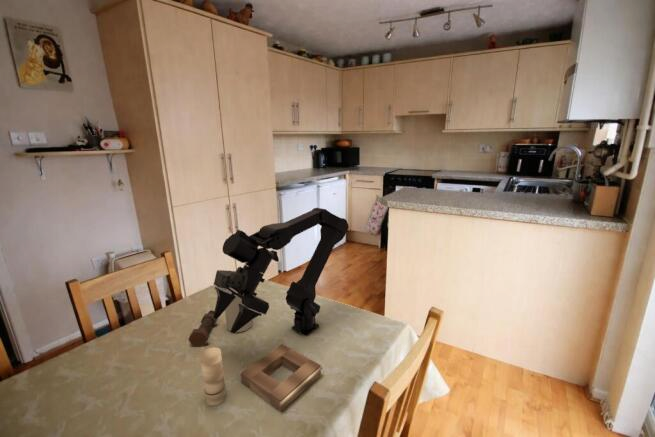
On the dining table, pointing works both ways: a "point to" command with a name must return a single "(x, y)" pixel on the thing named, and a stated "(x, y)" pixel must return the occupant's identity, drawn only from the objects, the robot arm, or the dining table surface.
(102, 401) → the dining table surface
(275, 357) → the socket board
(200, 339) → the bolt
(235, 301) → the travel mug
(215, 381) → the peg
